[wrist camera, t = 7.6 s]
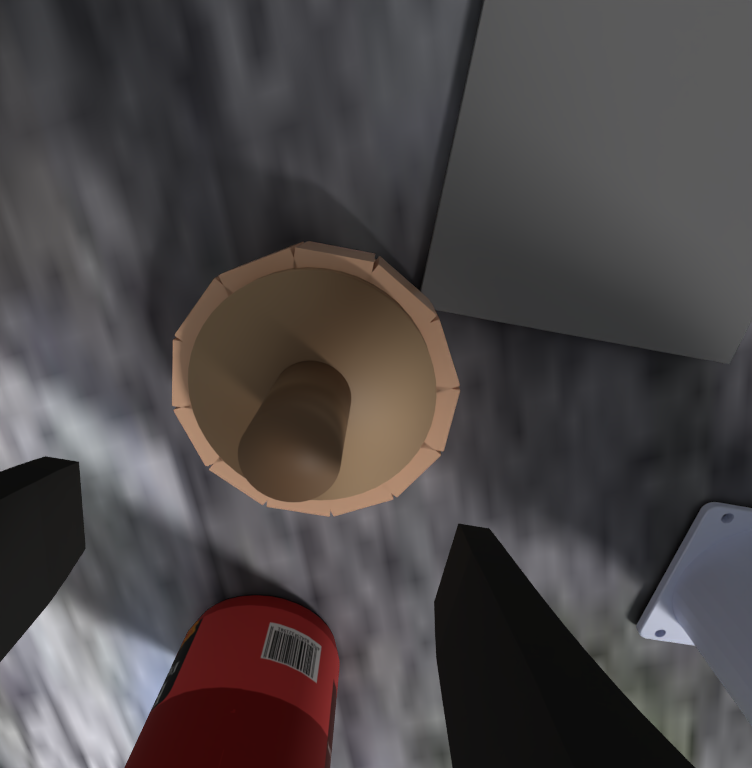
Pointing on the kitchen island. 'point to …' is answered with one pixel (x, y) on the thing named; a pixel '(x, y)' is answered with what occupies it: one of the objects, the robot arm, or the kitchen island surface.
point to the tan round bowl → (363, 268)
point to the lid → (312, 384)
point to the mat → (603, 174)
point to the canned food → (246, 691)
